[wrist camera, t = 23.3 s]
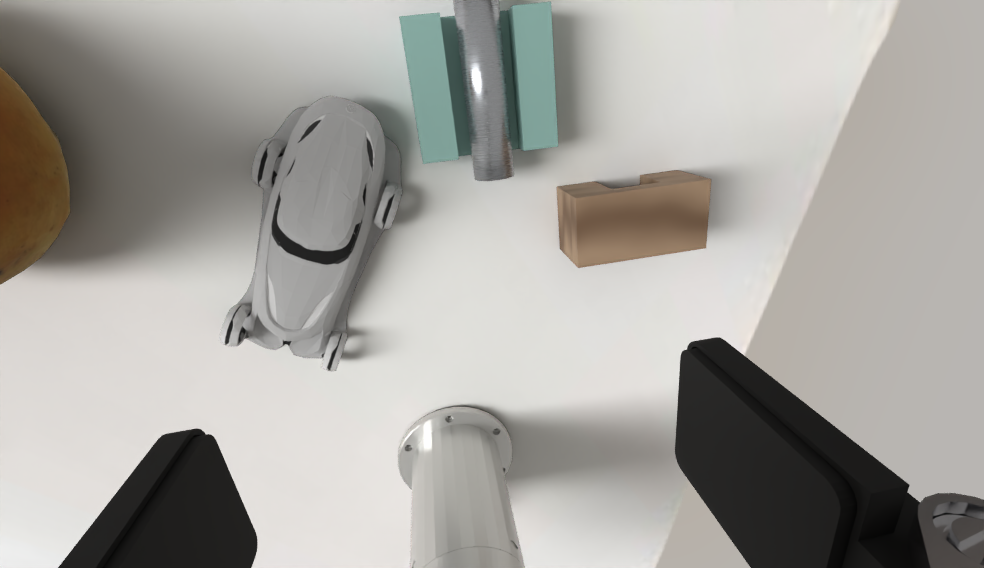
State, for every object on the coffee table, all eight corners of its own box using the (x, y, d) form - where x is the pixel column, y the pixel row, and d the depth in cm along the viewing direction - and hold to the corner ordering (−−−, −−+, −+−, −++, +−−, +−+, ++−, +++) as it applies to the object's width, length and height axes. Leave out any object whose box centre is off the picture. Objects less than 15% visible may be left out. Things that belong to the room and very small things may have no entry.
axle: (511, 171, 38) (516, 177, 35) (473, 176, 38) (475, 182, 35) (494, -24, 33) (497, -36, 30) (450, -19, 33) (449, -31, 30)
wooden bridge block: (673, 231, 45) (705, 248, 40) (559, 248, 44) (578, 267, 39) (676, 170, 43) (711, 179, 38) (556, 186, 42) (575, 198, 37)
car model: (223, 335, 43) (200, 364, 38) (287, 72, 36) (268, 68, 31) (342, 366, 46) (334, 395, 41) (423, 128, 39) (424, 132, 34)
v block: (545, 142, 40) (558, 146, 36) (422, 158, 39) (423, 163, 35) (537, 11, 36) (550, 1, 33) (401, 25, 35) (399, 16, 32)
